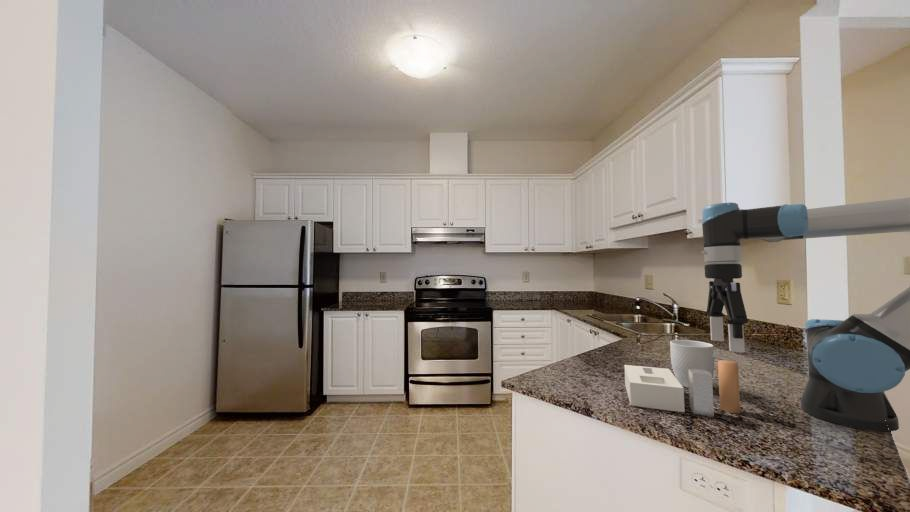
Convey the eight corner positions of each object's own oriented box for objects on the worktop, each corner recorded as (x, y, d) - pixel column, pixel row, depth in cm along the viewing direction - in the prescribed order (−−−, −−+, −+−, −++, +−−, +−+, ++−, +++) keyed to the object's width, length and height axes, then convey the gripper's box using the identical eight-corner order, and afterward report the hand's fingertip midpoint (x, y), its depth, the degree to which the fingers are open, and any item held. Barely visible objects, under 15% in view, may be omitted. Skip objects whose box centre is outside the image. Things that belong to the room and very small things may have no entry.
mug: (734, 389, 99) (732, 344, 100) (729, 399, 91) (727, 351, 92) (676, 378, 110) (674, 338, 110) (667, 386, 102) (665, 343, 103)
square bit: (708, 410, 84) (706, 370, 85) (713, 416, 81) (711, 374, 81) (689, 407, 86) (688, 368, 86) (694, 413, 82) (692, 372, 83)
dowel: (736, 408, 85) (734, 360, 86) (743, 414, 82) (740, 364, 82) (717, 405, 87) (715, 359, 88) (723, 411, 83) (720, 363, 84)
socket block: (669, 389, 100) (668, 368, 100) (684, 412, 83) (683, 388, 83) (625, 384, 104) (624, 364, 105) (630, 405, 88) (629, 382, 88)
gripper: (692, 264, 99) (695, 336, 98) (721, 262, 76) (726, 355, 75) (722, 264, 96) (726, 337, 95) (763, 261, 73) (769, 358, 72)
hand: (726, 346), depth 85 cm, fingers open, 13 cm apart
